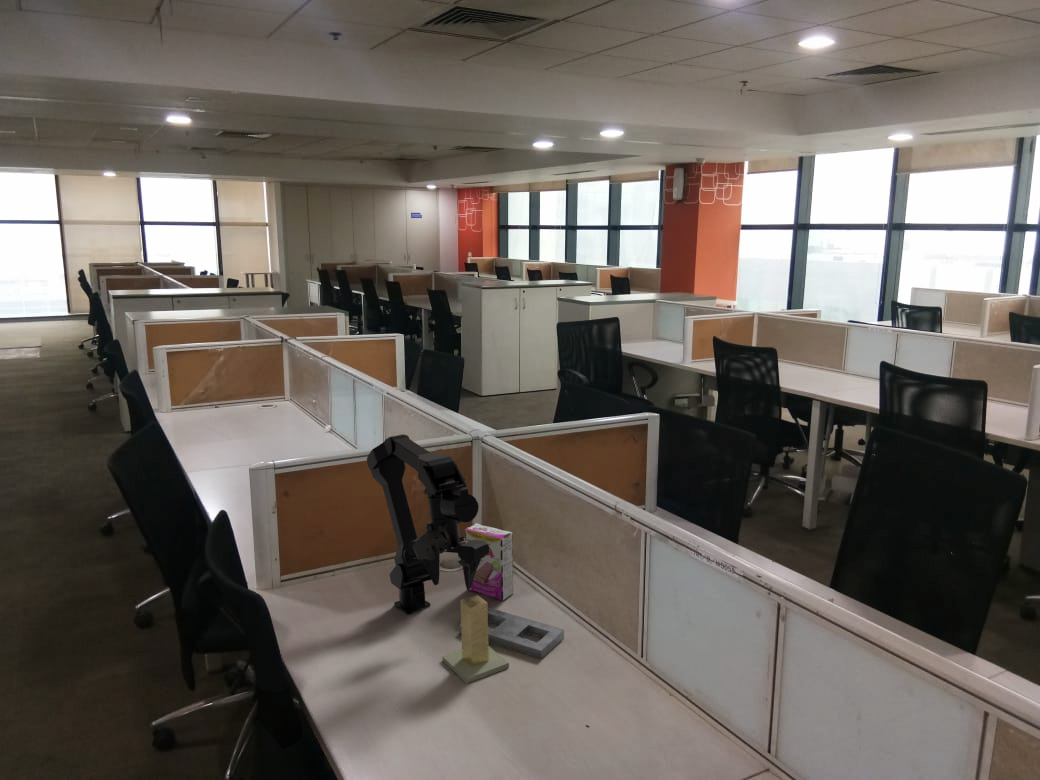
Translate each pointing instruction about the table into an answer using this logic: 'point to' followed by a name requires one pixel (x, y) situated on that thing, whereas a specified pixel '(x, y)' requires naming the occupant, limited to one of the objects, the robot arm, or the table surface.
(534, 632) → the steel rail plate
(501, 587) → the candy bar box
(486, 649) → the brass peg
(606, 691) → the table surface
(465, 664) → the olive rubber mat
